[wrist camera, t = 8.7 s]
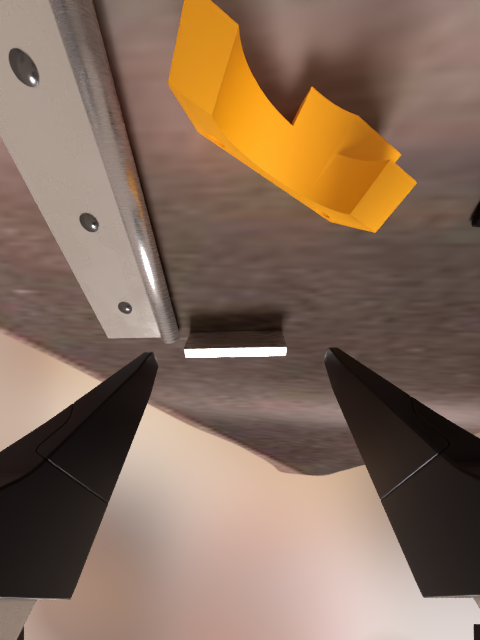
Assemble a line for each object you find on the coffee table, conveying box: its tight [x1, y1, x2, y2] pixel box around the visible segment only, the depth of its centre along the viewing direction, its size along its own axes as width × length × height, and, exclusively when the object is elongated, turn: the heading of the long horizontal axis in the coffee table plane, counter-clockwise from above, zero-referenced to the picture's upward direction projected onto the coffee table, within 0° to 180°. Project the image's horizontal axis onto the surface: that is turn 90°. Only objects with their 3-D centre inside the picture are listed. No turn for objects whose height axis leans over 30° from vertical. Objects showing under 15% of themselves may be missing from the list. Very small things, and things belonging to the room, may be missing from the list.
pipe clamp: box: [168, 0, 417, 233], centre depth 11 cm, size 12×4×6 cm, turn 63°
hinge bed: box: [0, 0, 287, 357], centre depth 15 cm, size 20×25×3 cm
